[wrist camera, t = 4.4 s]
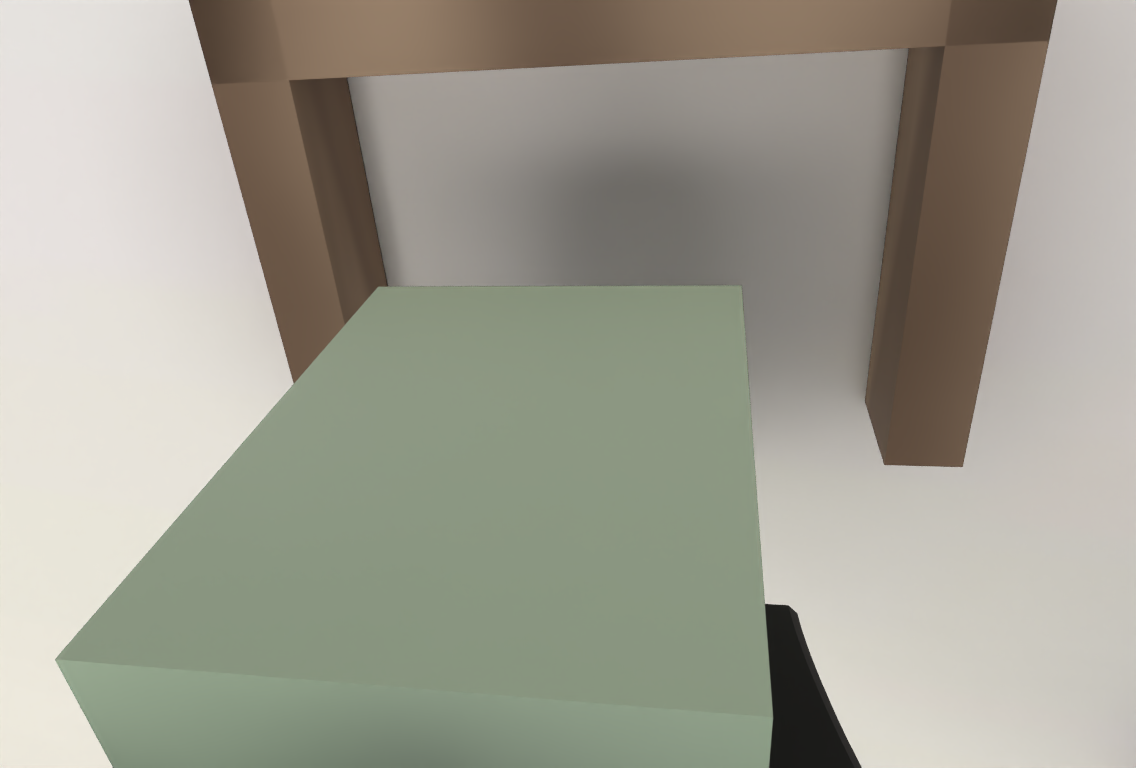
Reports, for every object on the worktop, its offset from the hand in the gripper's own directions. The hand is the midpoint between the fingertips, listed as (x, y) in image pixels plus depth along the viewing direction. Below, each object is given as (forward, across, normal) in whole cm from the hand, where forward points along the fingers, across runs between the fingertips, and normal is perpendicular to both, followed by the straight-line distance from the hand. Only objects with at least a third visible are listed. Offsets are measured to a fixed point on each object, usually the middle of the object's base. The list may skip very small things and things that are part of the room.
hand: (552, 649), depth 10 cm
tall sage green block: (+2, 0, 0) cm, 2 cm away
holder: (+10, 0, -2) cm, 10 cm away
